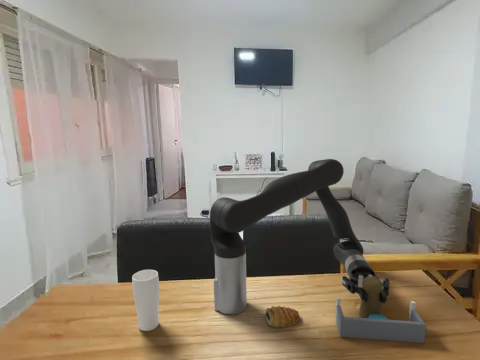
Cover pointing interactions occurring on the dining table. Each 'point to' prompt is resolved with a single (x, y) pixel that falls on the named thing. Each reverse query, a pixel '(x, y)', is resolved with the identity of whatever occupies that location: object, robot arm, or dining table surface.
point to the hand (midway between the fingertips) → (374, 299)
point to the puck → (377, 316)
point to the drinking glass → (146, 298)
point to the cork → (371, 297)
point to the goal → (381, 327)
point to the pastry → (281, 316)
